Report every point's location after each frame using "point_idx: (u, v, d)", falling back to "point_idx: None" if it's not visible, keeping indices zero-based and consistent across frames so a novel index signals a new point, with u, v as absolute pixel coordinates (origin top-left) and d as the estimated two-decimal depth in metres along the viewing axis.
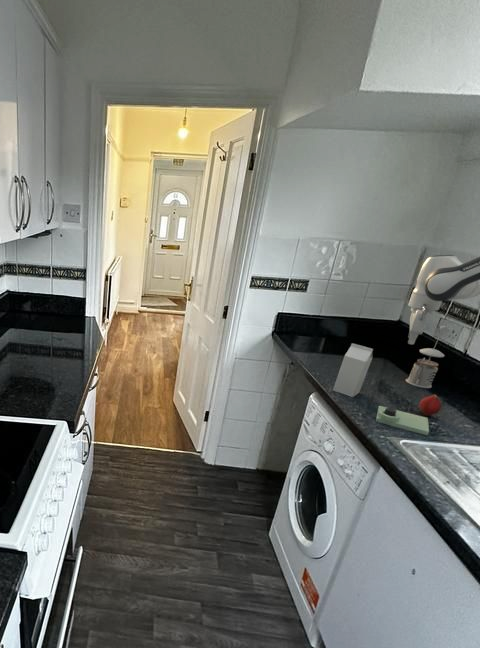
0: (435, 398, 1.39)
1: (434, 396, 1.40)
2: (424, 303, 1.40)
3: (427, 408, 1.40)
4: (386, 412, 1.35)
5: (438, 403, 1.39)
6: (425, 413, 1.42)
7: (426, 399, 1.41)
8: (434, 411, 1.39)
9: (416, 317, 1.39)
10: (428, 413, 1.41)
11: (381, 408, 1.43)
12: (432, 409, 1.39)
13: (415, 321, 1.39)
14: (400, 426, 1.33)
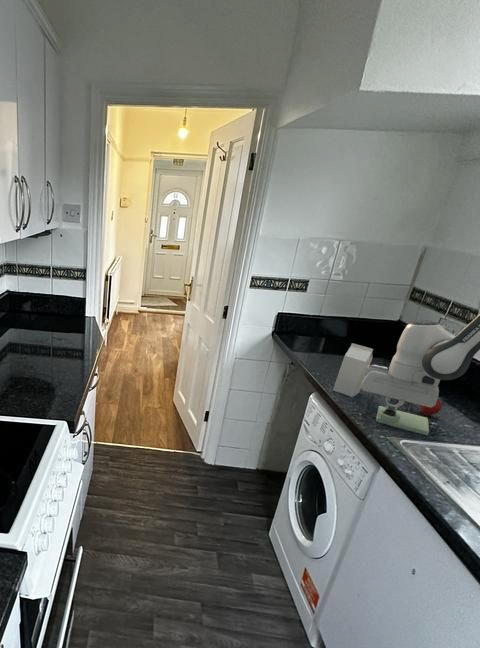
0: None
1: None
2: None
3: (427, 408, 1.40)
4: (386, 412, 1.35)
5: (438, 403, 1.39)
6: (425, 413, 1.42)
7: None
8: (434, 411, 1.39)
9: None
10: (428, 413, 1.41)
11: (381, 408, 1.43)
12: (432, 409, 1.39)
13: None
14: (400, 426, 1.33)
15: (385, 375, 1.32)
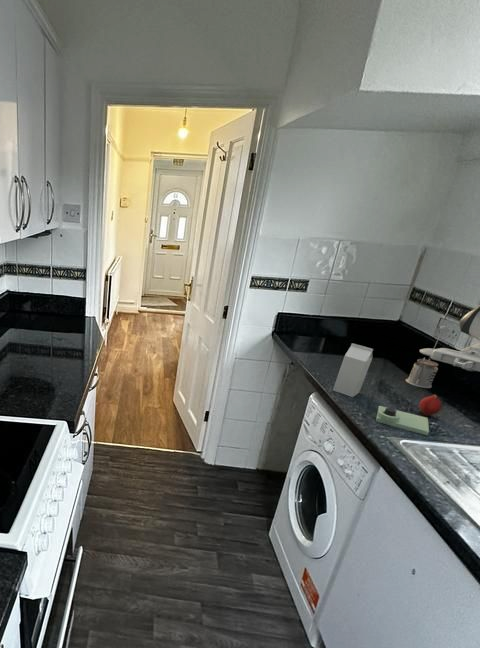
0: (435, 398, 1.39)
1: (434, 396, 1.40)
2: None
3: (427, 408, 1.40)
4: (386, 412, 1.35)
5: (438, 403, 1.39)
6: (425, 413, 1.42)
7: (426, 399, 1.41)
8: (434, 411, 1.39)
9: None
10: (428, 413, 1.41)
11: (381, 408, 1.43)
12: (432, 409, 1.39)
13: None
14: (400, 426, 1.33)
15: None
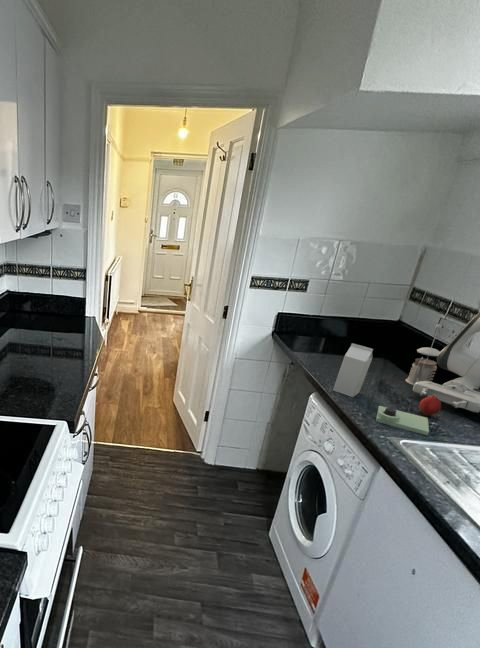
0: (435, 398, 1.39)
1: (434, 396, 1.40)
2: None
3: (427, 408, 1.40)
4: (386, 412, 1.35)
5: (438, 403, 1.39)
6: (425, 413, 1.42)
7: (426, 399, 1.41)
8: (434, 411, 1.39)
9: None
10: (428, 413, 1.41)
11: (381, 408, 1.43)
12: (432, 409, 1.39)
13: None
14: (400, 426, 1.33)
15: None
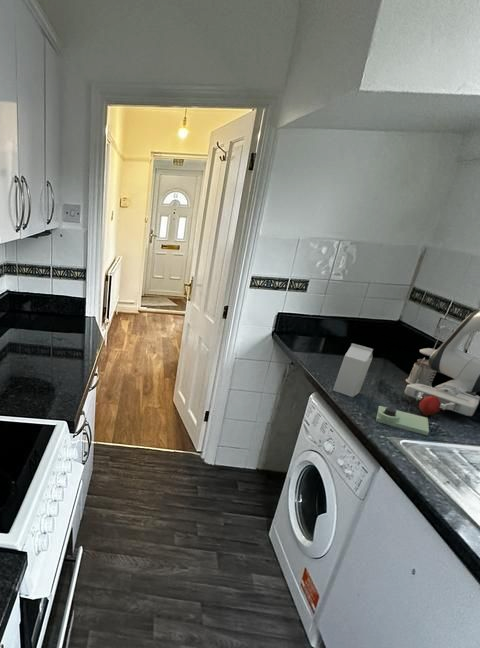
0: (435, 398, 1.40)
1: (434, 396, 1.40)
2: None
3: (426, 408, 1.40)
4: (386, 412, 1.35)
5: (438, 403, 1.39)
6: (425, 413, 1.42)
7: (426, 399, 1.41)
8: (434, 411, 1.39)
9: None
10: (428, 413, 1.41)
11: (381, 408, 1.43)
12: (432, 409, 1.39)
13: None
14: (400, 426, 1.33)
15: (431, 387, 1.49)
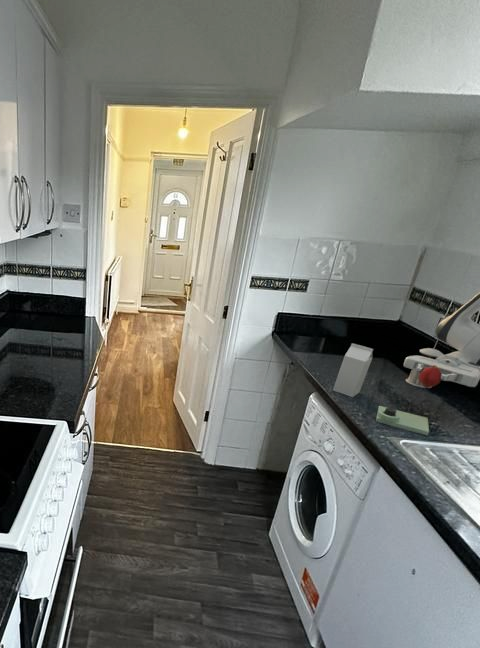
0: (435, 368, 1.31)
1: (434, 366, 1.32)
2: None
3: (426, 379, 1.32)
4: (386, 412, 1.35)
5: (438, 374, 1.31)
6: (425, 385, 1.34)
7: (426, 370, 1.33)
8: (434, 382, 1.31)
9: None
10: (428, 385, 1.33)
11: (381, 408, 1.43)
12: (432, 380, 1.31)
13: None
14: (400, 426, 1.33)
15: (432, 359, 1.41)
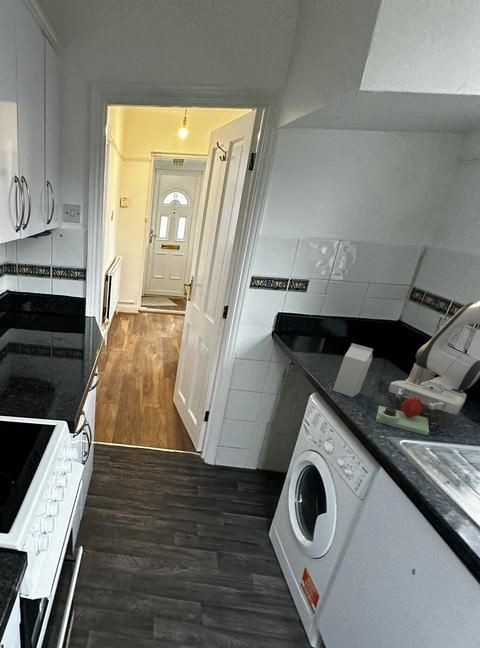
0: (417, 400, 1.34)
1: (416, 397, 1.34)
2: None
3: (408, 410, 1.35)
4: (386, 412, 1.35)
5: (420, 405, 1.33)
6: (407, 415, 1.36)
7: (408, 401, 1.35)
8: (416, 413, 1.34)
9: None
10: (410, 415, 1.35)
11: (381, 408, 1.43)
12: (413, 411, 1.34)
13: None
14: (400, 426, 1.33)
15: (416, 384, 1.43)
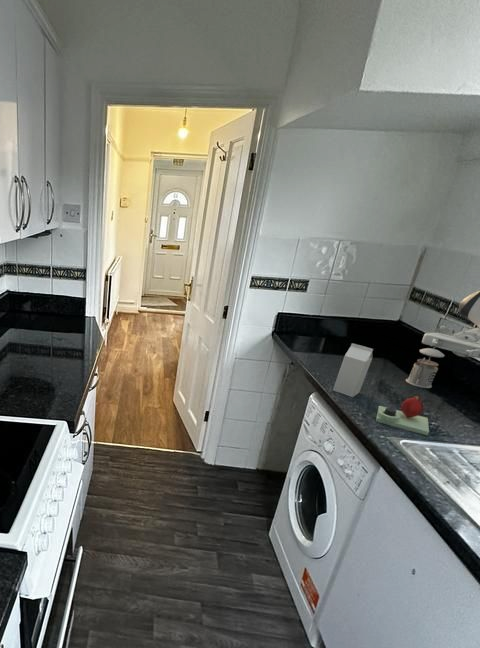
0: (417, 400, 1.34)
1: (416, 397, 1.34)
2: None
3: (408, 410, 1.35)
4: (386, 412, 1.35)
5: (420, 405, 1.33)
6: (407, 415, 1.36)
7: (408, 401, 1.35)
8: (416, 413, 1.34)
9: None
10: (410, 415, 1.35)
11: (381, 408, 1.43)
12: (413, 411, 1.34)
13: None
14: (400, 426, 1.33)
15: None
